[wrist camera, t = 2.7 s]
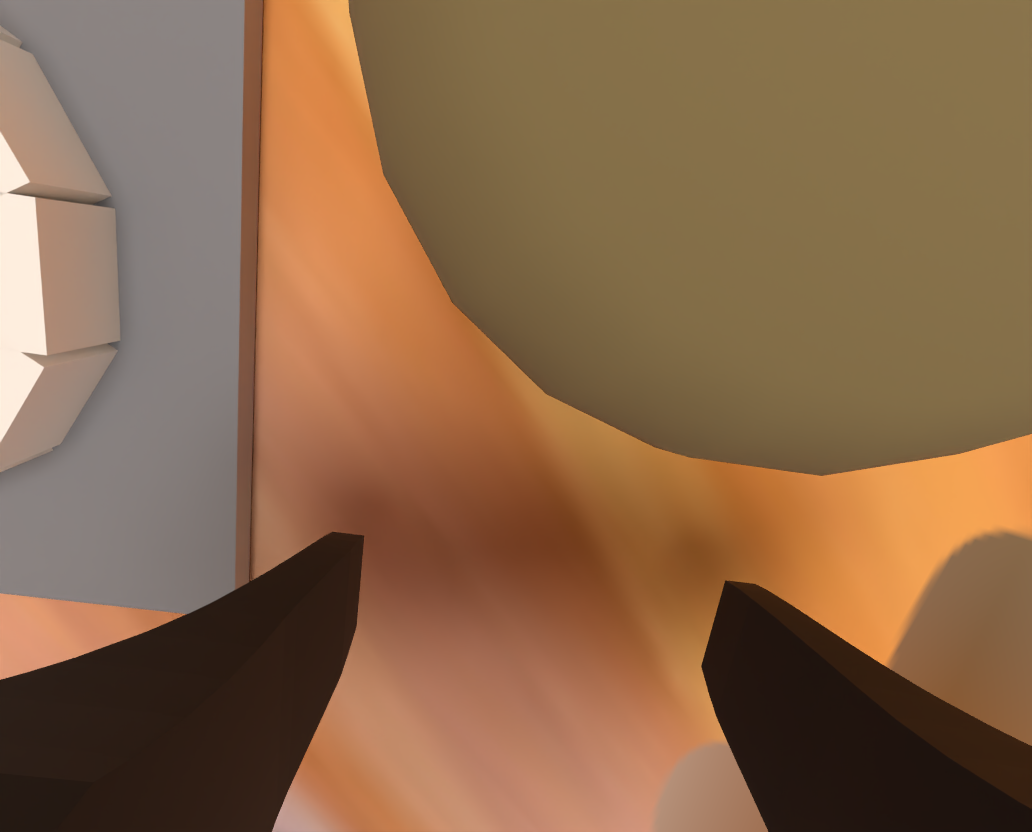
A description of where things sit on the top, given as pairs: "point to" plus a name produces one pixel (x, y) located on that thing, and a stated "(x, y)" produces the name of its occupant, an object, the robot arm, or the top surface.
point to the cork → (729, 211)
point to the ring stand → (128, 298)
